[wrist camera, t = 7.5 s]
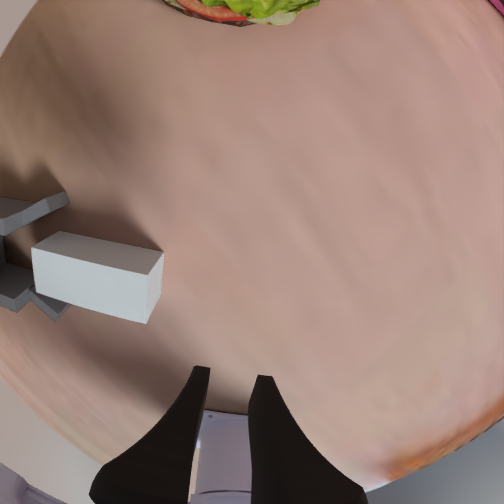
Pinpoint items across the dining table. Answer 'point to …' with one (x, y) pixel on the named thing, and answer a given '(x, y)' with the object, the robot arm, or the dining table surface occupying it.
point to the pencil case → (498, 5)
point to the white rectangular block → (99, 274)
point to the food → (243, 10)
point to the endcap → (17, 278)
